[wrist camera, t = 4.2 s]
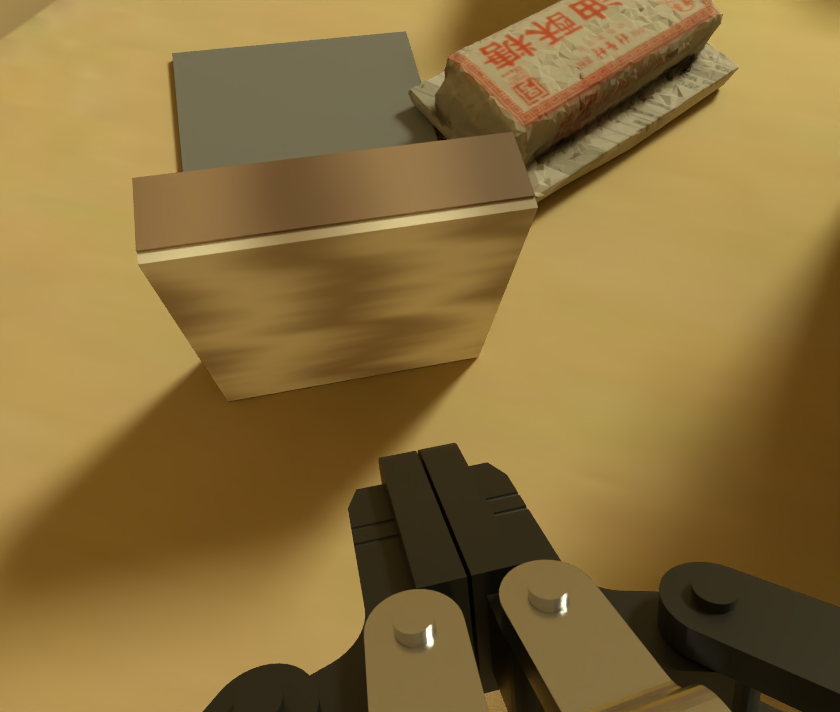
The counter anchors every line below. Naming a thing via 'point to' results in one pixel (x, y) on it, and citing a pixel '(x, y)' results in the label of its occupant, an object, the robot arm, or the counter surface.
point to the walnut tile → (336, 259)
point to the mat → (296, 100)
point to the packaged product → (579, 81)
